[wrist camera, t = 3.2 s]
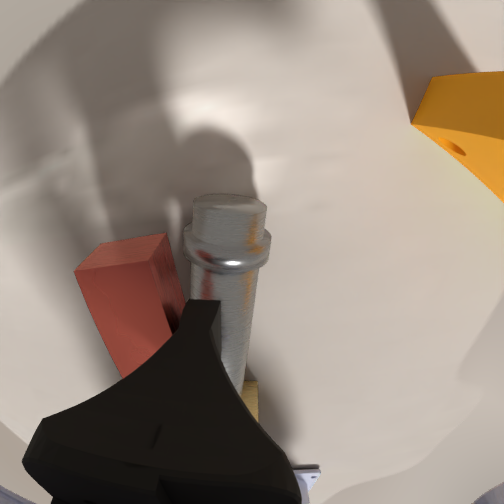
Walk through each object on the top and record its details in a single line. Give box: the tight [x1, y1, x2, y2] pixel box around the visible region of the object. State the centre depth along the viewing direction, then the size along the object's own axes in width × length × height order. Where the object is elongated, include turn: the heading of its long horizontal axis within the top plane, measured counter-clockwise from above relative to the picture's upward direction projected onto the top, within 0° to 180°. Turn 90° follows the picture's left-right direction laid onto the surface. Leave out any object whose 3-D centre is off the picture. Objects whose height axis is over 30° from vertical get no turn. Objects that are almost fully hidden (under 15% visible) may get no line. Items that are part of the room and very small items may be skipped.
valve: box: [183, 194, 271, 422], centre depth 15 cm, size 19×4×3 cm, turn 174°
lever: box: [74, 233, 186, 378], centre depth 11 cm, size 14×3×2 cm, turn 8°
